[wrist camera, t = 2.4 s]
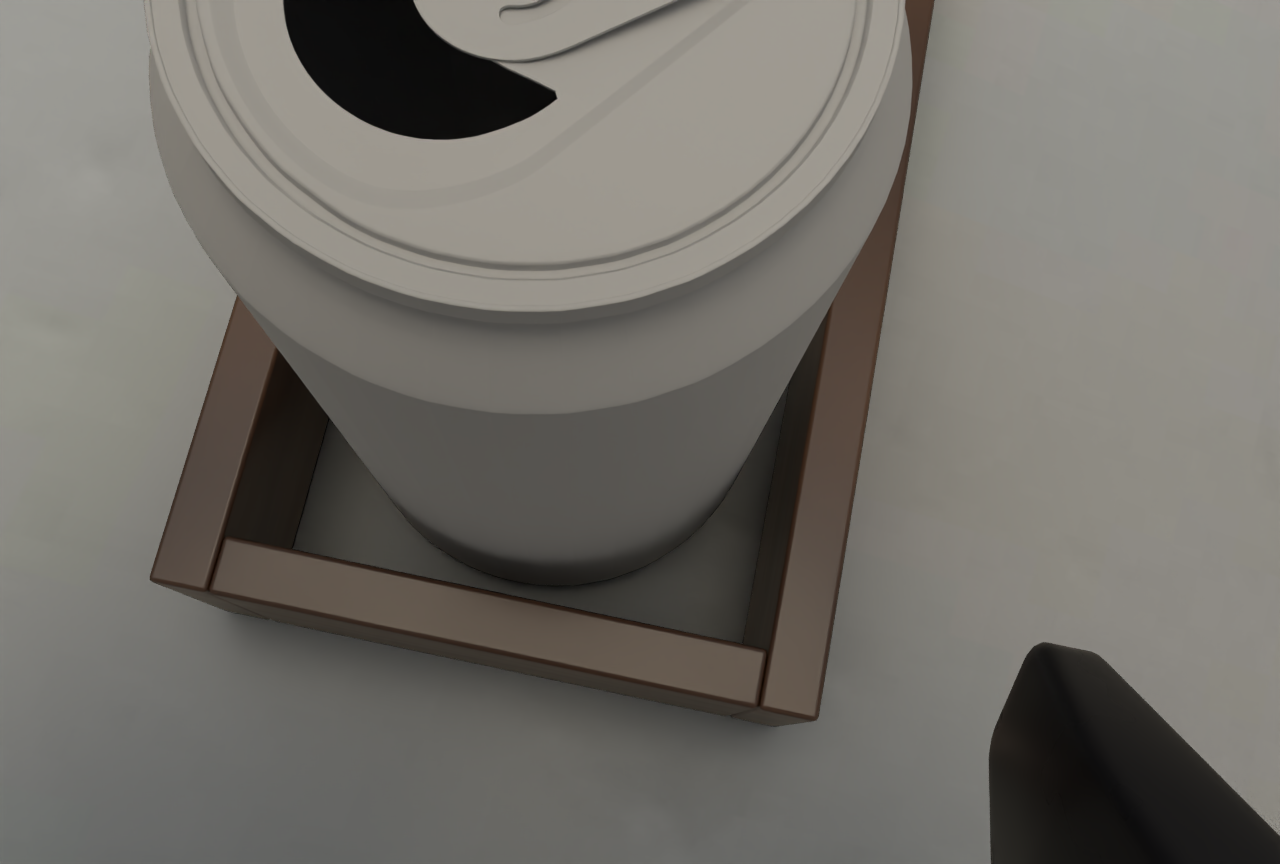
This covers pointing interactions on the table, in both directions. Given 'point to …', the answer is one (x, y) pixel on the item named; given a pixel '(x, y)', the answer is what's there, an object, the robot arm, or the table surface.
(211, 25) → the beverage can
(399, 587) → the stand
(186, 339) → the table surface
